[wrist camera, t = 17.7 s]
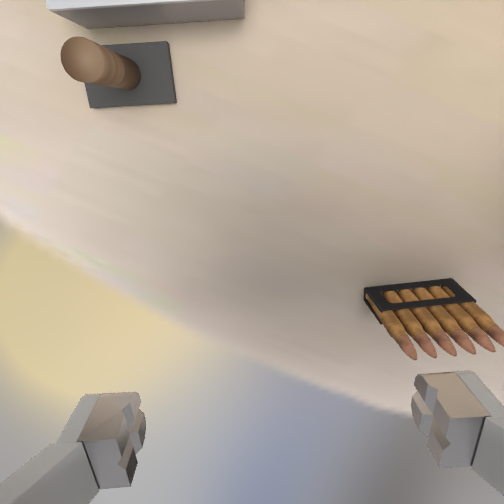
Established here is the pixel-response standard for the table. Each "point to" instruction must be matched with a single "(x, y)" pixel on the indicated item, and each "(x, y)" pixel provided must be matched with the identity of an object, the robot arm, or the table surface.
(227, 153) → the table surface
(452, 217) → the table surface
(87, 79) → the brown rounded rod
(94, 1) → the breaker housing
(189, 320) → the table surface
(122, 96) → the rubber pad
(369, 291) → the ammunition clip
